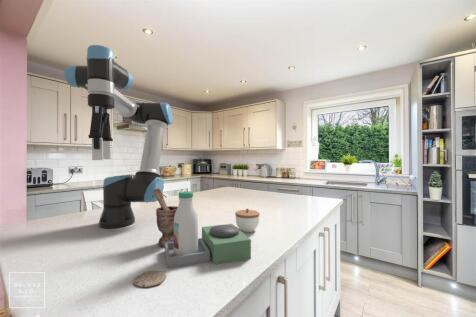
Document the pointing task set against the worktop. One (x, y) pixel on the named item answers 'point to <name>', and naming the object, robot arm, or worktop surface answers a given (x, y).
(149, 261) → the worktop surface
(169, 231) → the mortar and pestle
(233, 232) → the green box with dome
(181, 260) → the grey square tray
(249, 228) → the lidded jar
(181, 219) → the milk bottle
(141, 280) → the flatbread
